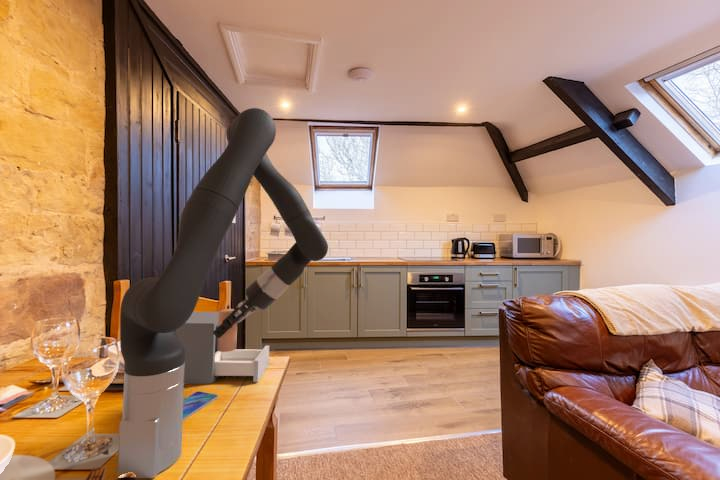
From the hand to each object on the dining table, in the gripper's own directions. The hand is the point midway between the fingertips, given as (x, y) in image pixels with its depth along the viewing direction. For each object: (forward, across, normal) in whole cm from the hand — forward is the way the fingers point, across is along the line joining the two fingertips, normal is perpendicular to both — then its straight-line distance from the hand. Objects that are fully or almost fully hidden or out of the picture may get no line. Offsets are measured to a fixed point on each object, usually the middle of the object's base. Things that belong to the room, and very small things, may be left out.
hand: (220, 332), depth 80 cm
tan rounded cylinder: (+2, 0, +4) cm, 5 cm away
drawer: (+11, -13, +12) cm, 21 cm away
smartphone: (+16, +7, +8) cm, 19 cm away
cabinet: (+20, -13, +3) cm, 24 cm away
